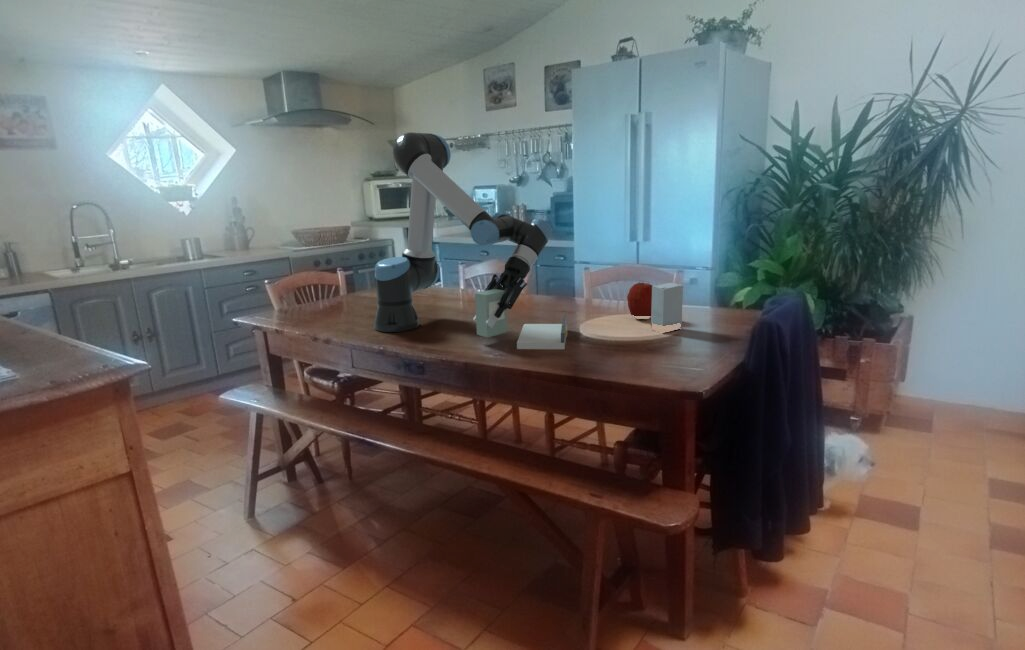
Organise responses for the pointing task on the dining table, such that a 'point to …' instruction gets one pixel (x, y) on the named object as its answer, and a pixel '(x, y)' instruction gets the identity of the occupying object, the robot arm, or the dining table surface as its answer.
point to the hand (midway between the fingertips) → (482, 323)
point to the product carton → (489, 313)
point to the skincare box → (667, 304)
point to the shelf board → (543, 336)
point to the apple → (640, 299)
